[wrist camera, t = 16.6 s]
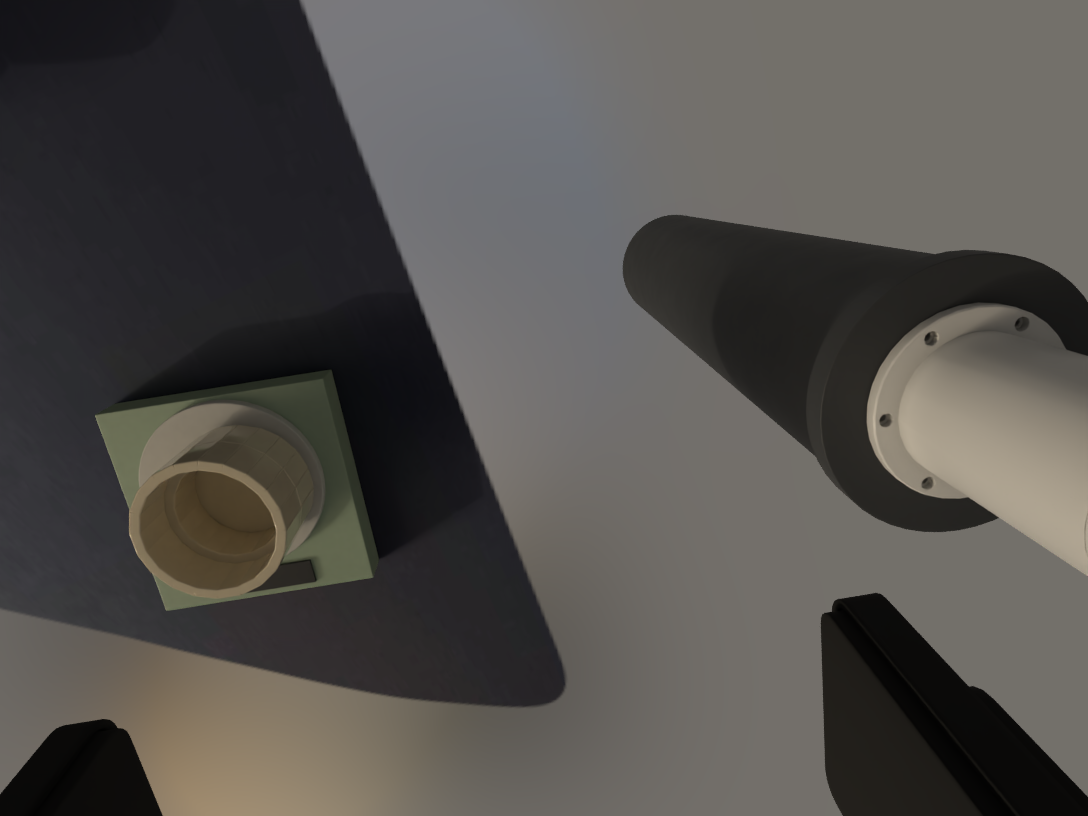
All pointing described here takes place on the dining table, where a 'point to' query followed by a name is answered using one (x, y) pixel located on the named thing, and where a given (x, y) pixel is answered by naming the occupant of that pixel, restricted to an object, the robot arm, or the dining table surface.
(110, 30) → the dining table surface
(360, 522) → the scale
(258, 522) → the tan faceted cup
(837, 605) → the robot arm
